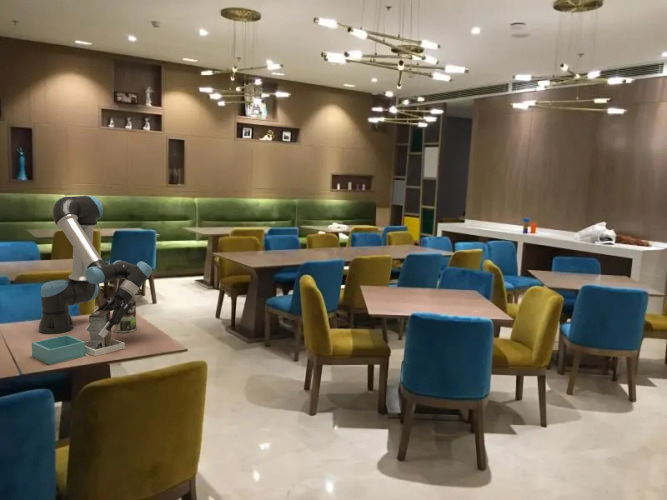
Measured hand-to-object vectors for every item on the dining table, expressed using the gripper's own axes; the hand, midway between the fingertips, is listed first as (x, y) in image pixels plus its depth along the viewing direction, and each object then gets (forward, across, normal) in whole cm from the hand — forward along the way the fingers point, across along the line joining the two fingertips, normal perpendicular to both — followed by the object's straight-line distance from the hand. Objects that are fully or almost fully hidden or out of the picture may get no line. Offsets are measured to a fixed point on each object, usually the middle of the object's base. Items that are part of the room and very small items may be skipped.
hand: (94, 333), depth 241 cm
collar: (+3, 0, -8) cm, 8 cm away
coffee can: (-13, +18, -24) cm, 33 cm away
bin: (+15, +4, +4) cm, 16 cm away
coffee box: (+3, 0, -8) cm, 8 cm away
